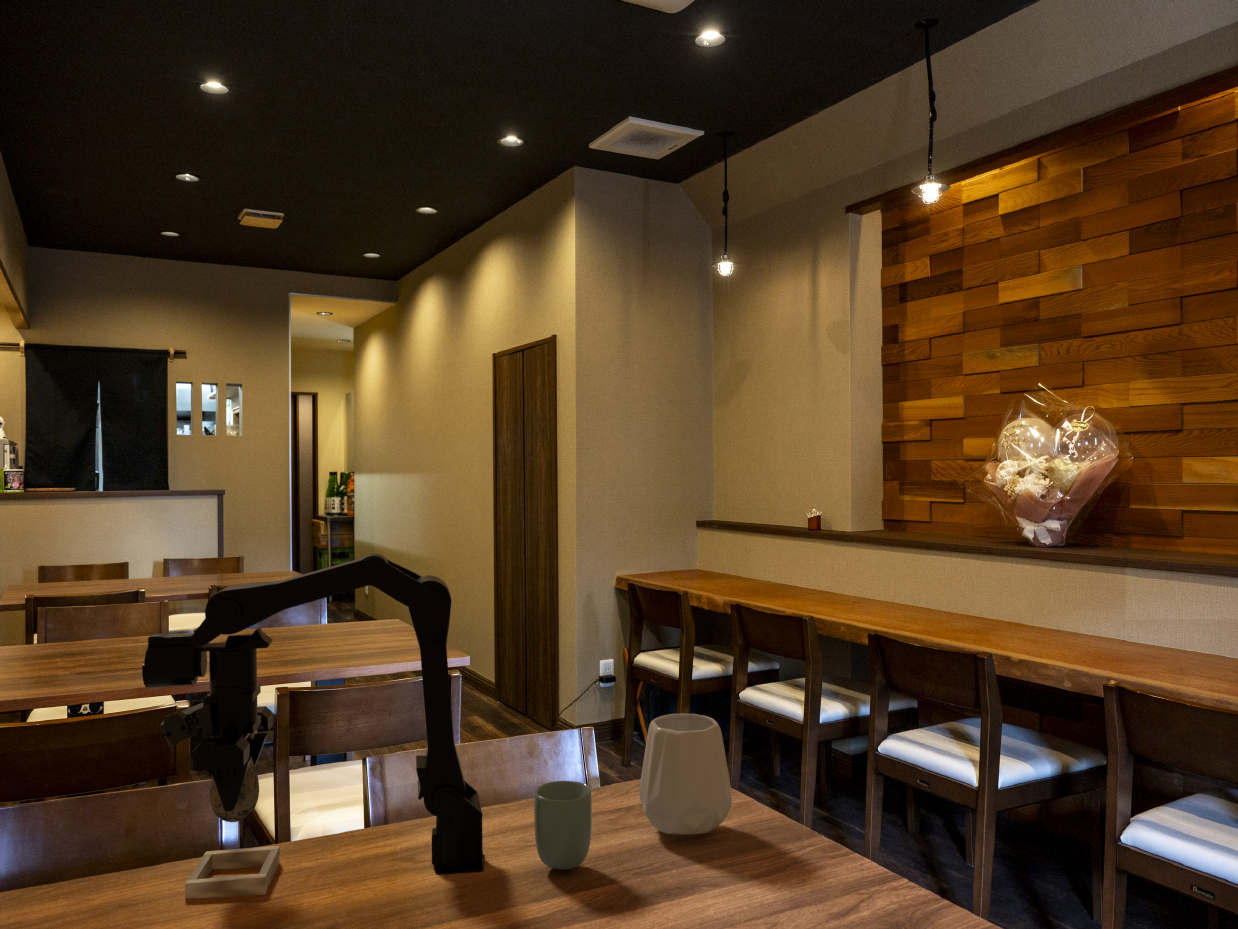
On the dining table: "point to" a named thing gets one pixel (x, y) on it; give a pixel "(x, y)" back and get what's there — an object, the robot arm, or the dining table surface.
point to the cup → (563, 823)
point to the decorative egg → (245, 799)
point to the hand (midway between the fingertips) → (235, 801)
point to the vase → (685, 775)
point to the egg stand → (233, 885)
